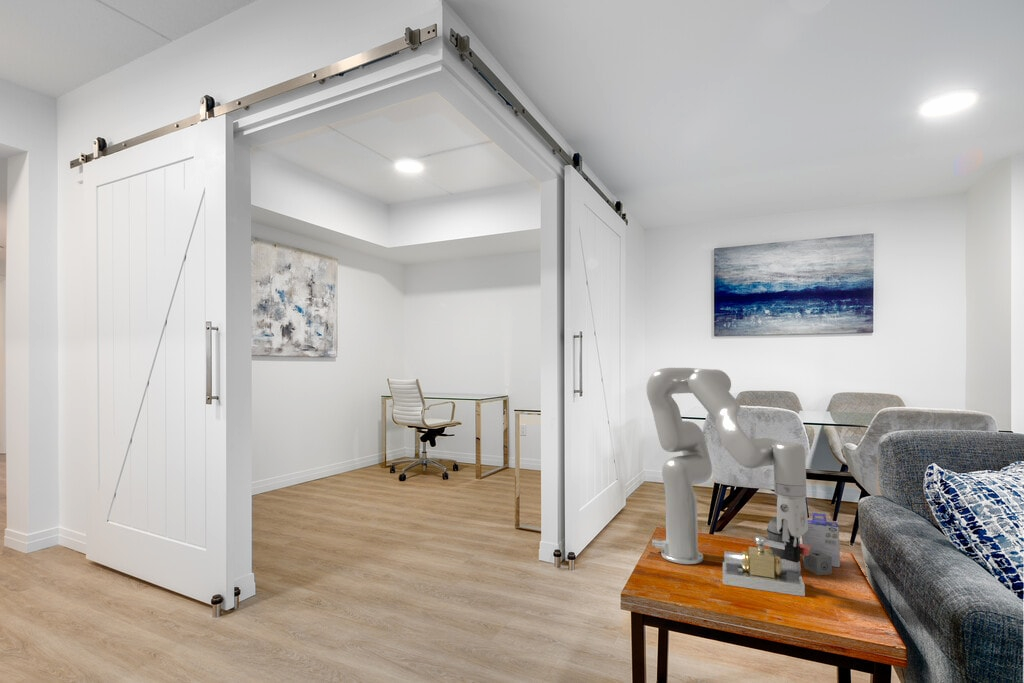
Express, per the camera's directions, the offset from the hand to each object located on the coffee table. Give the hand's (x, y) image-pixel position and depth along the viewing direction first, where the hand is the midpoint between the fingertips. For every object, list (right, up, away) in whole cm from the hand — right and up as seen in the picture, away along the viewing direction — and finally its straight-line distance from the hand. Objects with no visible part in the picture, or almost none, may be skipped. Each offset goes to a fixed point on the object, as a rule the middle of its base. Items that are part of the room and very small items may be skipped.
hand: (792, 560), depth 135 cm
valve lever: (0, +1, +5) cm, 5 cm away
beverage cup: (+6, -11, +17) cm, 21 cm away
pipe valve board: (-4, -10, +8) cm, 14 cm away
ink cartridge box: (+22, -11, +24) cm, 34 cm away
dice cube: (+17, -11, +17) cm, 26 cm away
